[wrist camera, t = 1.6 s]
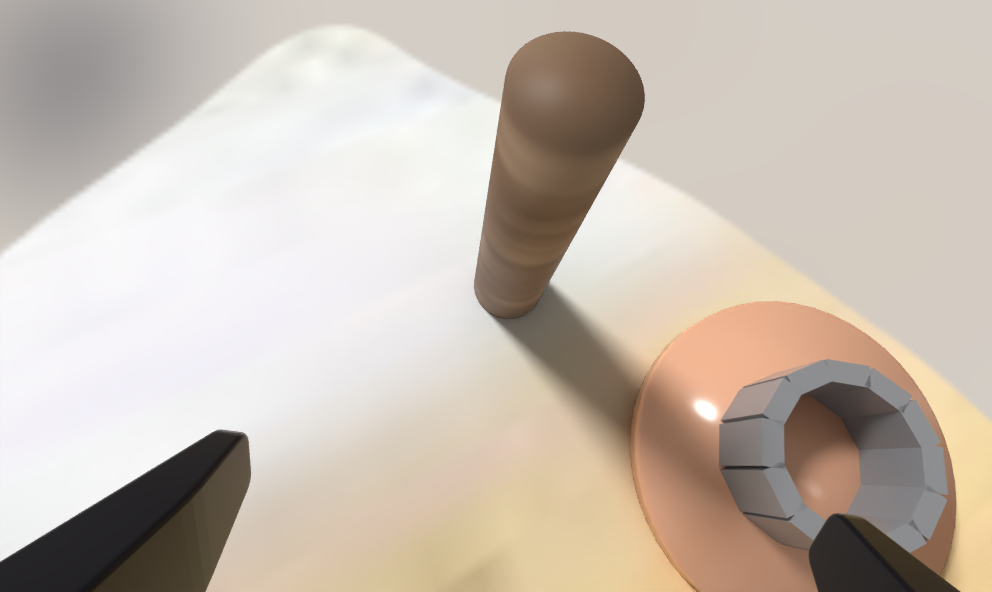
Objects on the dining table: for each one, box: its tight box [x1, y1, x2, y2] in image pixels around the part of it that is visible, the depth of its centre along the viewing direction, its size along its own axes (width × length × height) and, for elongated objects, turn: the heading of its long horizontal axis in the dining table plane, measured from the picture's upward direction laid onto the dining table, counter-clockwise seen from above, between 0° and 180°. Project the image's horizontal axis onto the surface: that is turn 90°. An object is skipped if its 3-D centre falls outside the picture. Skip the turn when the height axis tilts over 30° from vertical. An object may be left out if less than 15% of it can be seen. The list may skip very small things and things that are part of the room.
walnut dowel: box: [474, 32, 645, 318], centre depth 17 cm, size 3×3×13 cm
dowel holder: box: [630, 301, 956, 592], centre depth 20 cm, size 13×13×4 cm
